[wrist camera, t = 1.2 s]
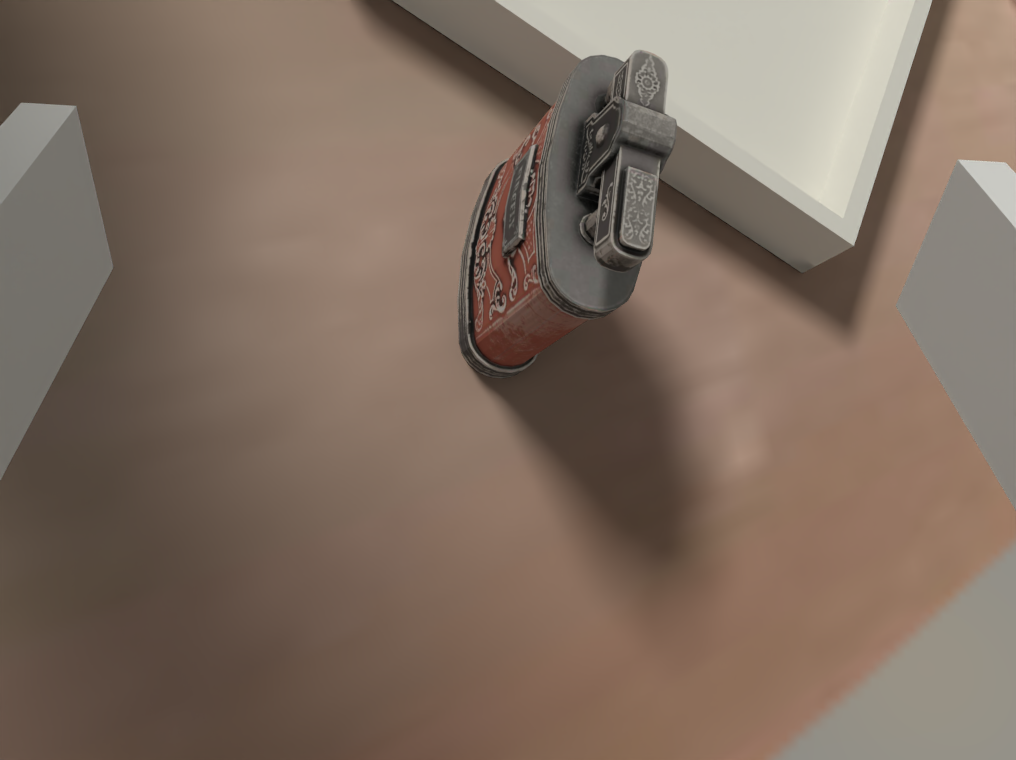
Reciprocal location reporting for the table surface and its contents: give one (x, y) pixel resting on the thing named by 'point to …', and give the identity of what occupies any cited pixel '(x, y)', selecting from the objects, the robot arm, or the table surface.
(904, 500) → the table surface
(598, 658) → the table surface
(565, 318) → the lighter
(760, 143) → the tray
